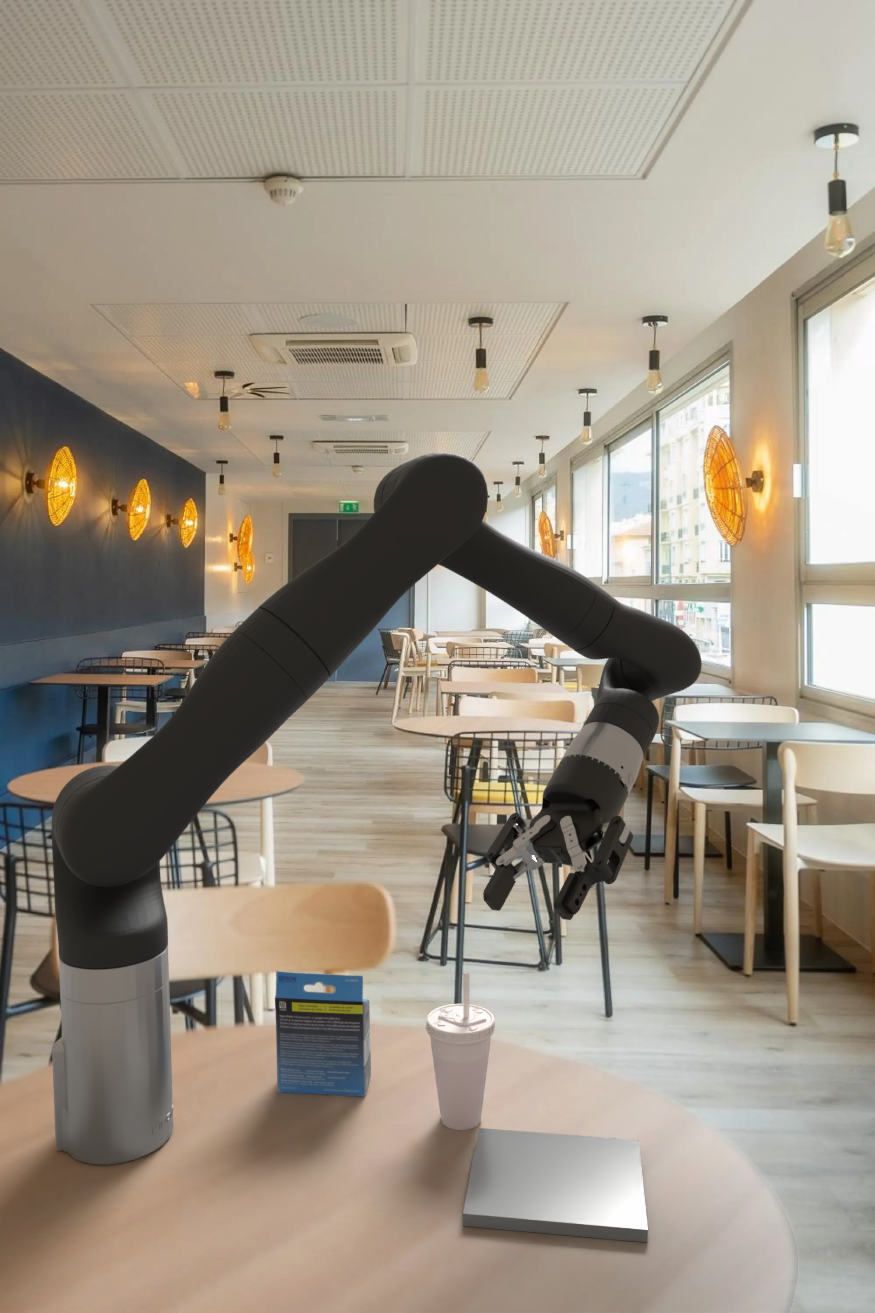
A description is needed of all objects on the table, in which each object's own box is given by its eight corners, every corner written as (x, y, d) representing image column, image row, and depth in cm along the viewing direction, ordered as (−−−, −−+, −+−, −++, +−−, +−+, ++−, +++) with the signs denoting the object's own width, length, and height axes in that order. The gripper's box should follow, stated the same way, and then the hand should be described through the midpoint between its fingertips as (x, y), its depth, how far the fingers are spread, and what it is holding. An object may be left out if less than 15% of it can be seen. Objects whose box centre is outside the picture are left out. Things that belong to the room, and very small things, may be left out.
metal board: (462, 1226, 76) (462, 1213, 76) (478, 1138, 88) (478, 1128, 88) (647, 1242, 74) (647, 1230, 74) (638, 1151, 86) (638, 1140, 86)
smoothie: (489, 1142, 87) (489, 989, 86) (419, 1134, 89) (418, 983, 88) (499, 1104, 94) (499, 961, 93) (433, 1097, 95) (433, 956, 94)
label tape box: (372, 1078, 99) (371, 959, 98) (365, 1100, 95) (363, 976, 94) (286, 1074, 100) (284, 956, 99) (275, 1095, 96) (273, 972, 95)
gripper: (522, 753, 103) (448, 878, 94) (637, 750, 93) (567, 890, 83) (556, 801, 106) (488, 927, 97) (671, 804, 96) (607, 944, 87)
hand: (524, 909), depth 90 cm, fingers open, 8 cm apart
